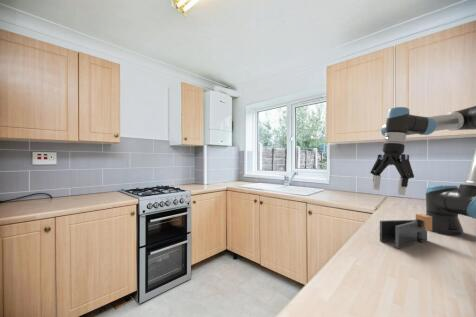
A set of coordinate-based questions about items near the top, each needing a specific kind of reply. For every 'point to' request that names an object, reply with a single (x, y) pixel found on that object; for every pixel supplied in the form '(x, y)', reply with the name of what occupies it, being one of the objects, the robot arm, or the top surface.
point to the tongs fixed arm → (389, 230)
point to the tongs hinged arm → (406, 234)
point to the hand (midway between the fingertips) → (387, 192)
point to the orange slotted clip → (425, 221)
